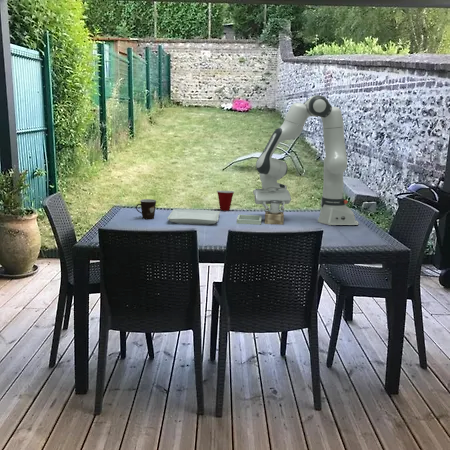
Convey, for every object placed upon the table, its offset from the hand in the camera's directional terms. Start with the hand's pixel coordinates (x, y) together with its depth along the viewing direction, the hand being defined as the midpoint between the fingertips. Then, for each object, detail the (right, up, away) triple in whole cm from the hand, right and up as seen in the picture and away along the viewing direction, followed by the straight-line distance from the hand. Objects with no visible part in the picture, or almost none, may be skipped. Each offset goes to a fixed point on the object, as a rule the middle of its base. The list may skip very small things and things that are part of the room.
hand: (275, 209), depth 277 cm
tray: (-14, -7, +2) cm, 16 cm away
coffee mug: (-71, -5, +5) cm, 72 cm away
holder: (0, -8, +2) cm, 8 cm away
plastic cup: (-27, +1, +36) cm, 45 cm away
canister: (0, -7, +2) cm, 7 cm away
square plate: (-44, -6, +6) cm, 45 cm away
